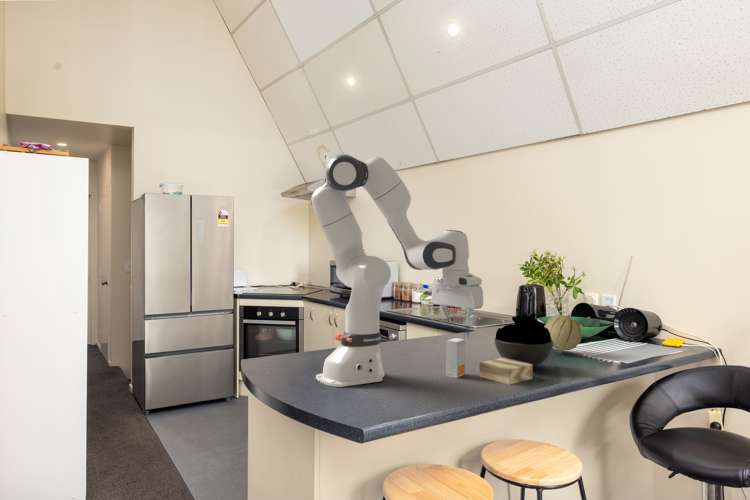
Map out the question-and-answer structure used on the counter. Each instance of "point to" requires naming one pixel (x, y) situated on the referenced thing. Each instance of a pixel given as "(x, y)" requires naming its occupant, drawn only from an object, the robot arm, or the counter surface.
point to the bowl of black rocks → (524, 340)
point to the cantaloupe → (564, 332)
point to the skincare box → (455, 357)
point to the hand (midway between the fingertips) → (456, 320)
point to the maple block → (506, 370)
